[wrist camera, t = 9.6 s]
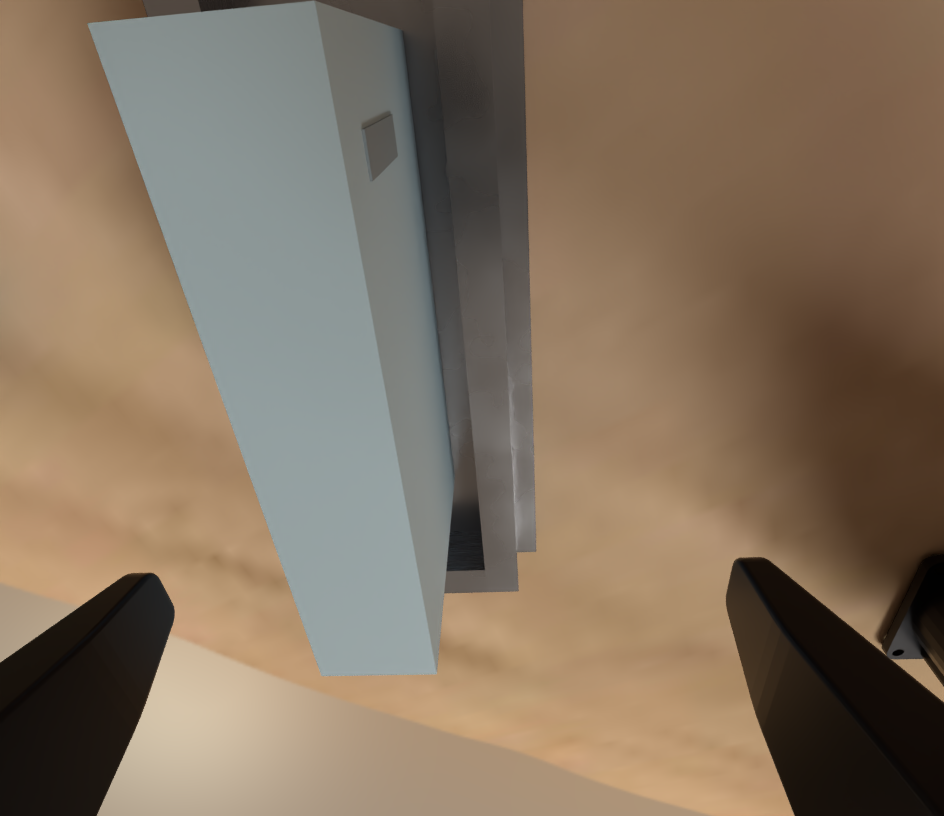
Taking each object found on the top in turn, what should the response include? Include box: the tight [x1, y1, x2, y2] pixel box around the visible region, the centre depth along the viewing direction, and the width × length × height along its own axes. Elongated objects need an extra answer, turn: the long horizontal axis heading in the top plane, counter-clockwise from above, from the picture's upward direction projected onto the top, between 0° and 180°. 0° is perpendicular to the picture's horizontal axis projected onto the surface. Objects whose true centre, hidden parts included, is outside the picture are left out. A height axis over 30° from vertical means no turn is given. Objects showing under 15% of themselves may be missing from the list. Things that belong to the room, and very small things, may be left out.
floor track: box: [143, 0, 536, 593], centre depth 17 cm, size 22×9×3 cm, turn 4°
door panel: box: [87, 1, 455, 676], centre depth 14 cm, size 14×3×8 cm, turn 4°
